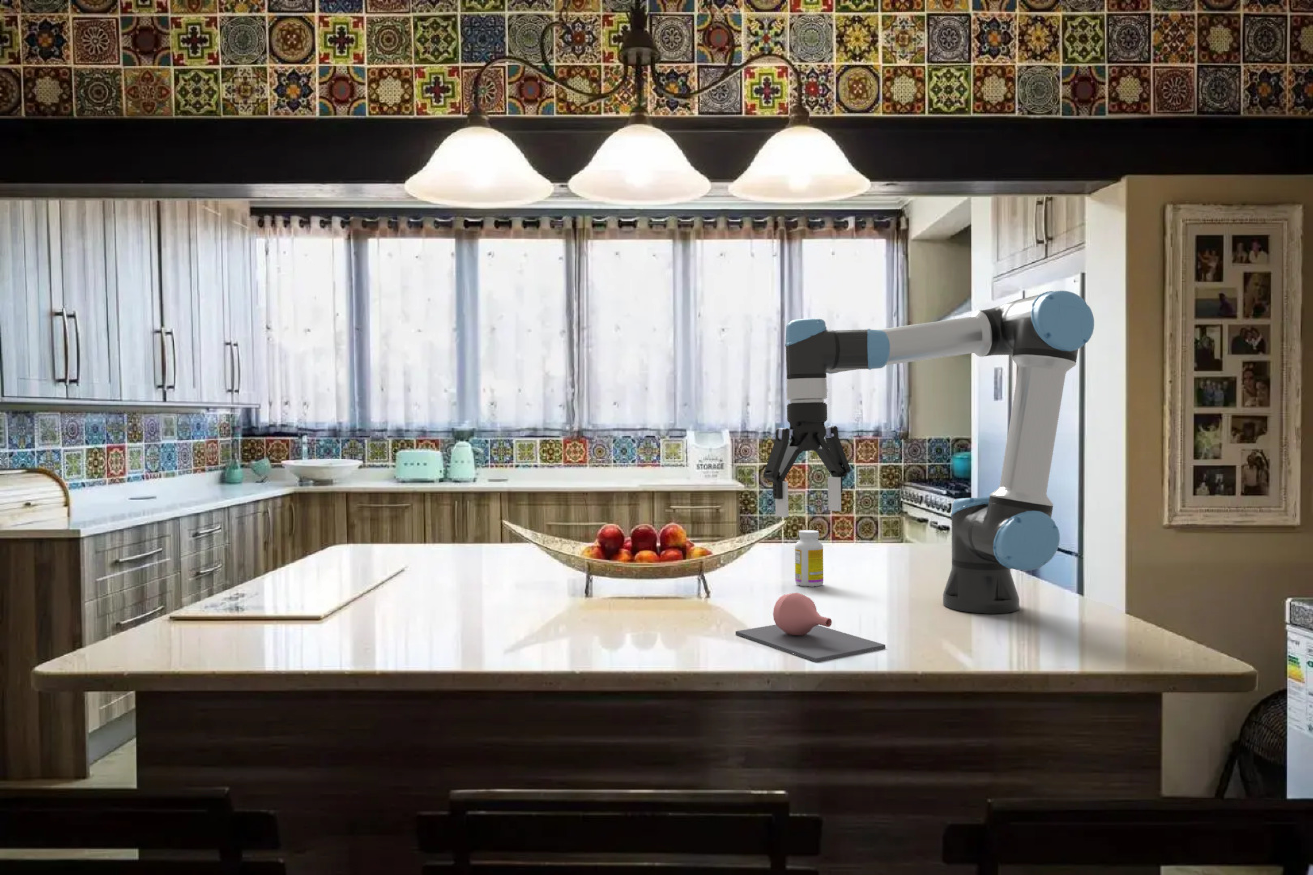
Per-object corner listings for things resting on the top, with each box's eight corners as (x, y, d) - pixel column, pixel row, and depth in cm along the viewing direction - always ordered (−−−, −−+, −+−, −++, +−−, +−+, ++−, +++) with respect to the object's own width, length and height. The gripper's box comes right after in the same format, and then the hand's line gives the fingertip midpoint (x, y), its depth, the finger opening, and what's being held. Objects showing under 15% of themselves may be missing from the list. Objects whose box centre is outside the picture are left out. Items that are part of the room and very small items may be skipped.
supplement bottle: (827, 583, 215) (827, 530, 214) (817, 588, 209) (817, 533, 209) (801, 581, 218) (801, 528, 218) (790, 585, 213) (790, 531, 212)
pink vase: (779, 639, 165) (826, 654, 156) (759, 611, 163) (806, 624, 153) (802, 609, 169) (850, 621, 159) (783, 581, 166) (831, 591, 156)
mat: (801, 623, 174) (801, 620, 174) (885, 648, 155) (885, 644, 155) (735, 634, 166) (735, 631, 166) (815, 662, 147) (815, 658, 147)
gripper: (839, 401, 179) (841, 506, 180) (743, 403, 165) (745, 517, 166) (867, 400, 173) (869, 509, 173) (769, 402, 159) (772, 521, 159)
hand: (809, 513), depth 169 cm, fingers open, 13 cm apart
